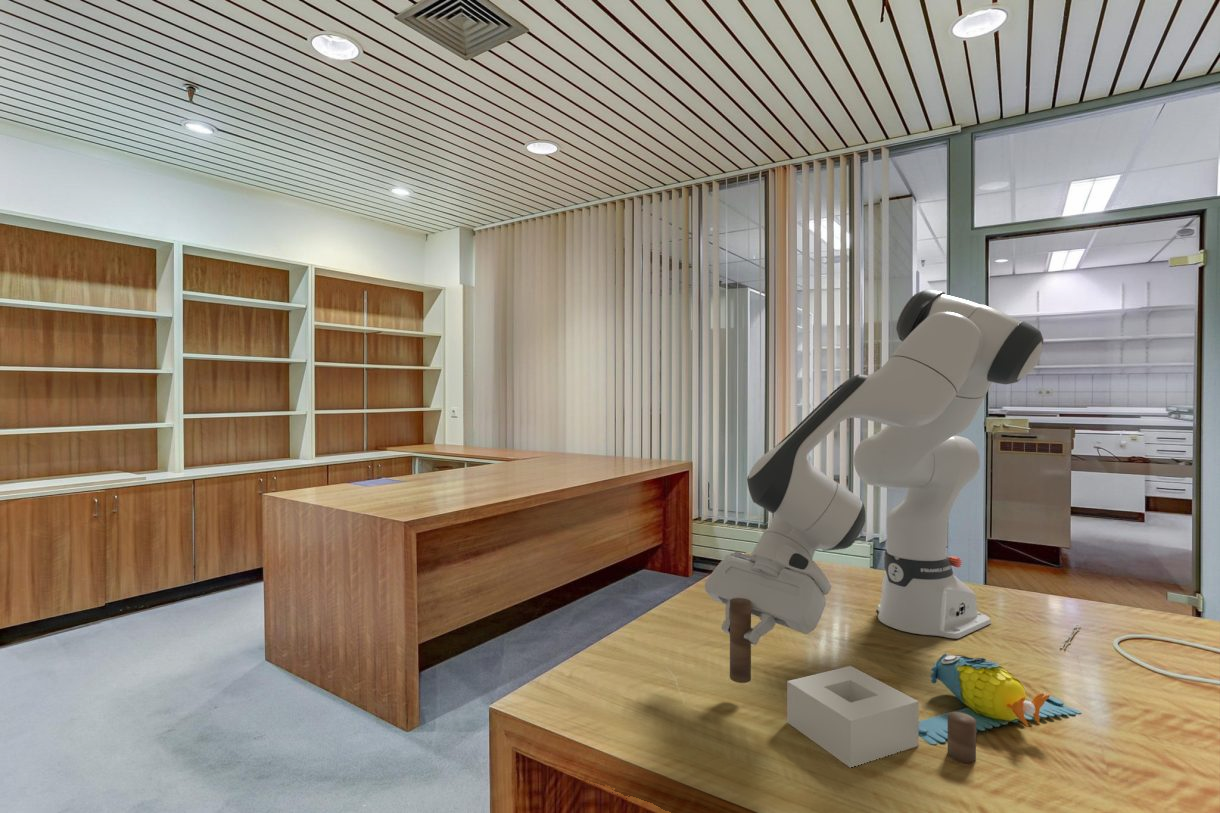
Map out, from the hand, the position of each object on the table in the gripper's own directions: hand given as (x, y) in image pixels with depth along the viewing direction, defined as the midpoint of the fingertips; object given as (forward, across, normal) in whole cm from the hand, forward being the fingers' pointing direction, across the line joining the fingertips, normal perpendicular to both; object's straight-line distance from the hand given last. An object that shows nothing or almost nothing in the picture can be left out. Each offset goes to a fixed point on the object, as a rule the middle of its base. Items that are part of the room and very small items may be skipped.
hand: (737, 636), depth 95 cm
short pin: (-1, +28, +15) cm, 32 cm away
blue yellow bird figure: (-11, +25, +26) cm, 37 cm away
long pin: (+4, 0, +5) cm, 7 cm away
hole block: (+3, +16, +10) cm, 19 cm away
